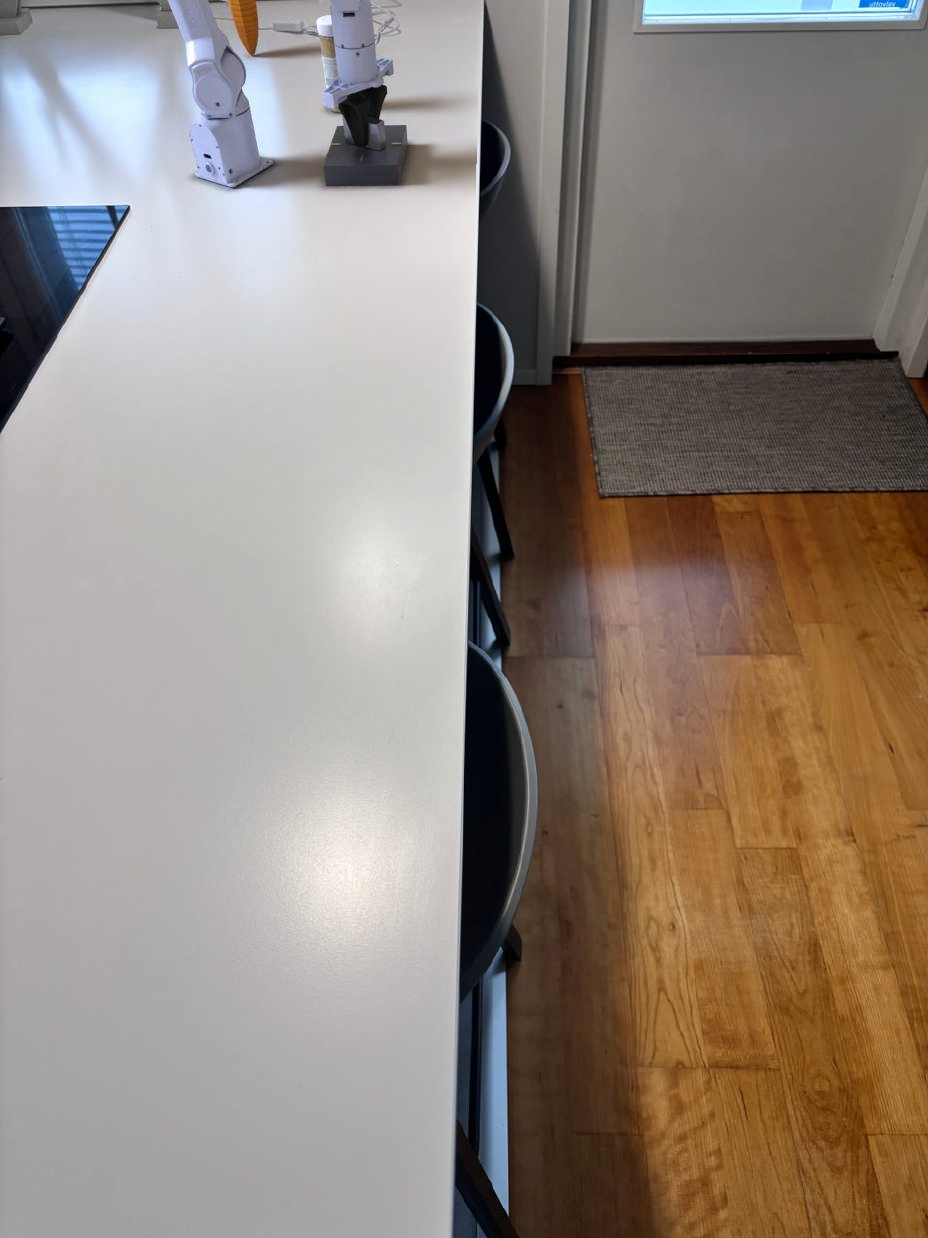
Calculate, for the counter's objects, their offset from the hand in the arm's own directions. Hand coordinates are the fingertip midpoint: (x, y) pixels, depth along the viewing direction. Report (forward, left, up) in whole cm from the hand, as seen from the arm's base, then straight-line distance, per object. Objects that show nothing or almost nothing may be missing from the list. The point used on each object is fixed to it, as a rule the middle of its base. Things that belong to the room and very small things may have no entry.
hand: (365, 141), depth 144 cm
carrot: (+26, +47, -4) cm, 54 cm away
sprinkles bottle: (+15, +17, -4) cm, 23 cm away
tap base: (0, 0, -3) cm, 3 cm away
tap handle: (0, 0, 0) cm, 0 cm away
